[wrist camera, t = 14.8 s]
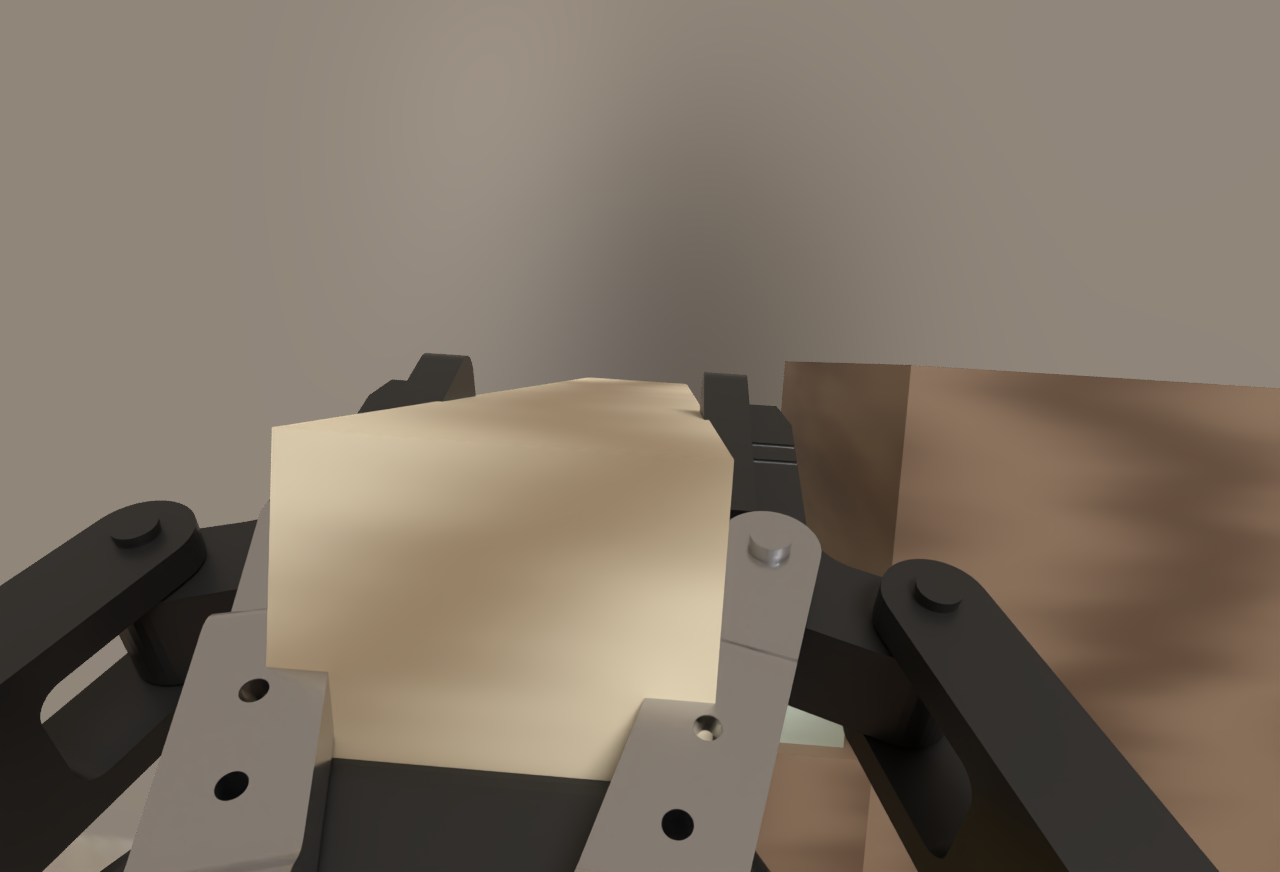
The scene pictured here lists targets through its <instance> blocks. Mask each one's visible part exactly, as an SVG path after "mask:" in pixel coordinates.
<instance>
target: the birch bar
mask: <svg viewBox="0 0 1280 872" xmlns="http://www.w3.org/2000/svg"><path fill="white" fill-rule="evenodd" d="M733 469H734V459H733V457H732V456H731V454H730V453H729V451H728V449H727V448H726V446H725V445H724V443H723V441H722V440H721V438H720V437H719V435H718V433H717V432H716V430H715V429H714V427H713V426H712V424H711V422H710V421H709V420H704V419H703V417H702V415H701V414H700V405H699V403H698V402H697V400H696V398H695V397H694V395H693V394H692V392H691V390H690V389H689V387H688V386H687V384H676V383H661V382H646V381H630V380H617V379H602V378H583V379H576V380H570V381H564V382H558V383H551V384H544V385H538V386H532V387H526V388H519V389H513V390H507V391H500V392H494V393H487V394H481V395H476V396H474V397H468V398H462V399H456V400H450V401H444V402H439V401H436V402H430V403H424V404H417V405H411V406H405V407H398V408H392V409H386V410H379V411H373V412H366V413H360V414H354V415H348V416H341V417H335V418H329V419H322V420H316V421H309V422H303V423H297V424H291V425H284V426H278V427H272V451H271V490H270V492H271V493H270V530H269V570H268V610H267V650H266V667H275V668H287V669H299V670H312V671H324V672H328V675H329V685H330V695H331V705H332V715H333V725H334V743H333V750H332V758H344V759H356V760H368V761H379V762H391V763H403V764H414V765H426V766H438V767H450V768H462V769H473V770H485V771H497V772H509V773H520V774H532V775H544V776H556V777H567V778H579V779H591V780H603V781H611V780H612V778H613V775H614V773H615V770H616V768H617V765H618V763H619V760H620V758H621V755H622V753H623V750H624V748H625V745H626V743H627V740H628V738H629V736H630V733H631V731H632V728H633V726H634V723H635V721H636V718H637V716H638V713H639V711H640V708H641V706H642V703H643V701H644V698H655V699H667V700H679V701H691V702H704V703H715V701H716V688H717V675H718V662H719V649H720V636H721V623H722V610H723V598H724V585H725V572H726V559H727V546H728V533H729V520H730V507H731V495H732V482H733ZM265 695H266V694H265ZM697 736H698V737H699V738H701V739H703V740H706V741H712V739H713V734H712V733H711V732H709V731H707V730H704V731H701V732H700V733H699V734H698V735H697Z"/></svg>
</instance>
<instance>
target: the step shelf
mask: <svg viewBox="0 0 1280 872" xmlns="http://www.w3.org/2000/svg"><path fill="white" fill-rule="evenodd" d="M781 413H782V414H783V415H784V416H785V418H786V419H787V420H788V421H789V422H790V424H791V425H792V432H793V438H794V449H795V452H796V459H797V466H798V472H799V479H800V485H801V492H802V499H803V506H804V512H805V519H806V525H807V527H808V528H809V529H810V530H811V531H812V532H813V533H814V534H815V535H816V537H817V538H818V540H819V543H820V545H821V550H822V551H824V552H825V553H826V554H827V555H829V556H830V557H832V558H833V559H835V560H836V561H838V562H840V563H843V564H845V565H847V566H850V567H852V568H855V569H858V570H861V571H865V572H868V573H871V574H874V575H877V576H880V577H883V575H884V573H885V572H886V571H887V570H888V569H889V568H890V567H891V566H893V565H894V564H896V563H898V562H901V561H905V560H909V559H929V560H936V561H940V562H943V563H946V564H949V565H952V566H954V567H956V568H958V569H960V570H962V571H964V572H965V573H967V574H969V575H970V576H971V577H973V578H974V579H975V580H976V581H978V582H979V583H980V585H981V586H982V587H983V588H984V589H985V590H986V591H987V592H988V594H989V595H990V596H991V597H992V598H993V600H994V601H995V602H996V603H997V604H998V606H999V607H1000V608H1001V609H1002V610H1003V612H1004V613H1005V614H1006V615H1007V616H1008V618H1009V619H1010V620H1011V621H1012V623H1013V624H1014V625H1015V626H1016V627H1017V629H1018V630H1019V631H1020V632H1021V633H1022V635H1023V636H1024V637H1025V638H1026V639H1027V641H1028V642H1029V643H1030V644H1031V645H1032V647H1033V648H1034V649H1035V650H1036V651H1037V653H1038V654H1039V655H1040V656H1041V657H1042V659H1043V660H1044V661H1045V662H1046V663H1047V665H1048V666H1049V667H1050V668H1051V669H1052V671H1053V672H1054V673H1055V674H1056V675H1057V677H1058V678H1059V679H1060V680H1061V681H1062V683H1063V684H1064V685H1065V686H1066V688H1067V689H1068V690H1069V691H1070V692H1071V694H1072V695H1073V696H1074V697H1075V698H1076V700H1077V701H1078V702H1079V703H1080V704H1081V706H1082V707H1083V708H1084V709H1085V710H1086V712H1087V713H1088V714H1089V715H1090V716H1091V718H1092V719H1093V720H1094V721H1095V722H1096V724H1097V725H1098V726H1099V727H1100V728H1101V730H1102V731H1103V732H1104V733H1105V734H1106V736H1107V737H1108V738H1109V739H1110V740H1111V742H1112V743H1113V744H1114V745H1115V746H1116V748H1117V749H1118V750H1119V751H1120V752H1121V754H1122V755H1123V756H1124V757H1125V759H1126V760H1127V761H1128V762H1129V763H1130V765H1131V766H1132V767H1133V768H1134V769H1135V771H1136V772H1137V773H1138V774H1139V775H1140V777H1141V778H1142V779H1143V780H1144V781H1145V783H1146V784H1147V785H1148V786H1149V787H1150V789H1151V790H1152V791H1153V792H1154V793H1155V795H1156V796H1157V797H1158V798H1159V799H1160V801H1161V802H1162V803H1163V804H1164V805H1165V807H1166V808H1167V809H1168V810H1169V811H1170V813H1171V814H1172V815H1173V816H1174V817H1175V819H1176V820H1177V821H1178V822H1179V824H1180V825H1181V826H1182V827H1183V828H1184V830H1185V831H1186V832H1187V833H1188V834H1189V836H1190V837H1191V838H1192V839H1193V840H1194V842H1195V843H1196V844H1197V845H1198V846H1199V848H1200V849H1201V850H1202V851H1203V852H1204V854H1205V855H1206V856H1207V857H1208V858H1209V860H1210V861H1211V862H1212V863H1213V864H1214V866H1215V867H1216V868H1217V869H1218V870H1219V872H1280V388H1265V387H1248V386H1234V385H1218V384H1202V383H1185V382H1184V383H1183V382H1170V381H1169V382H1168V381H1154V380H1138V379H1122V378H1106V377H1090V376H1074V375H1059V374H1043V373H1027V372H1010V371H995V370H978V369H964V368H947V367H932V366H931V367H930V366H916V365H886V364H854V363H821V362H788V361H785V371H784V383H783V396H782V408H781ZM755 851H756V852H757V853H758V855H759V856H760V857H761V859H762V860H763V862H764V863H765V864H766V866H767V867H768V868H769V870H770V871H771V872H918V871H917V869H916V867H915V866H914V864H913V862H912V860H911V858H910V856H909V854H908V853H907V851H906V849H905V847H904V845H903V843H902V841H901V839H900V838H899V836H898V834H897V832H896V830H895V828H894V826H893V824H892V823H891V821H890V819H889V817H888V815H887V813H886V811H885V810H884V808H883V806H882V804H881V802H880V800H879V798H878V796H877V795H876V793H875V791H874V789H873V787H872V785H871V783H870V781H869V780H868V778H867V776H866V774H865V772H864V770H863V768H862V766H861V765H860V763H859V761H858V759H857V757H856V755H855V753H854V752H853V750H852V748H851V746H850V744H849V742H848V740H847V738H846V736H845V734H844V731H843V727H842V726H841V725H839V724H836V723H833V722H831V721H828V720H825V719H823V718H820V717H817V716H815V715H812V714H810V713H807V712H804V711H802V710H799V709H796V708H794V707H791V706H788V707H787V711H786V716H785V720H784V724H783V729H782V733H781V738H780V742H779V747H778V751H777V756H776V760H775V765H774V769H773V773H772V778H771V782H770V787H769V791H768V796H767V800H766V805H765V809H764V813H763V818H762V822H761V827H760V831H759V836H758V840H757V845H756V849H755Z"/></svg>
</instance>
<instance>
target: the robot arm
mask: <svg viewBox="0 0 1280 872" xmlns="http://www.w3.org/2000/svg"><path fill="white" fill-rule="evenodd" d="M474 396H476V395H475V386H474V374H473V366H472V362H471V359H470V357H468V356H461V355H446V354H431V353H425V354H423V355H422V357H421V358H420V360H419V362H418V363H417V365H416V367H415V369H414V370H413V372H412V374H411V375H410V377H409V379H408V380H407V381H403V380H391V381H389V382H388V383H386V384H385V385H384V386H382V387H380V388H379V389H378V390H376V391H375V392H373V393H372V394H370V395H369V396H368V398H367V399H366V401H365V402H364V404H363V406H362V407H361V409H360V411H359V412H358V413H357V414H360V413H366V412H373V411H379V410H386V409H392V408H398V407H405V406H411V405H417V404H424V403H430V402H436V401H439V402H444V401H450V400H456V399H462V398H468V397H474ZM700 414H701V415H702V417H703V419H704V420H709V421H710V422H711V424H712V426H713V427H714V429H715V430H716V432H717V433H718V435H719V437H720V438H721V440H722V441H723V443H724V445H725V446H726V448H727V449H728V451H729V453H730V454H731V456H732V457H733V459H734V469H733V482H732V495H731V507H730V520H729V533H728V546H727V559H726V572H725V585H724V598H723V610H722V623H721V636H720V649H719V662H718V675H717V688H716V701H715V703H704V702H691V701H679V700H667V699H655V698H644V701H643V703H642V706H641V708H640V711H639V713H638V716H637V718H636V721H635V723H634V726H633V728H632V731H631V733H630V736H629V738H628V740H627V743H626V745H625V748H624V750H623V753H622V755H621V758H620V760H619V763H618V765H617V768H616V770H615V773H614V775H613V778H612V780H611V781H603V780H591V779H579V778H567V777H556V776H544V775H532V774H520V773H509V772H497V771H485V770H473V769H462V768H450V767H438V766H426V765H414V764H403V763H391V762H379V761H368V760H356V759H344V758H332V750H333V743H334V725H333V715H332V705H331V695H330V685H329V675H328V672H324V671H312V670H299V669H287V668H275V667H266V650H267V610H268V570H269V530H270V500H269V501H268V502H267V503H266V504H265V505H264V507H263V508H262V510H261V512H260V514H259V517H258V519H257V520H253V521H248V522H242V523H235V524H228V525H222V526H214V527H207V528H199V526H198V523H197V520H196V518H195V515H194V513H193V512H192V510H190V509H189V508H188V507H187V506H185V505H183V504H180V503H176V502H172V501H149V502H143V503H138V504H134V505H130V506H127V507H124V508H122V509H119V510H117V511H115V512H113V513H111V514H108V515H107V516H105V517H103V518H102V519H100V520H98V521H97V522H95V523H94V524H92V525H91V526H89V527H88V528H87V529H85V530H84V531H82V532H81V533H79V534H77V535H76V536H74V537H73V538H71V539H70V540H69V541H67V542H65V543H64V544H62V545H61V546H59V547H58V548H57V549H55V550H53V551H52V552H50V553H49V554H48V555H46V556H44V557H43V558H41V559H40V560H38V561H37V562H35V563H34V564H32V565H31V566H29V567H28V568H27V569H25V570H23V571H22V572H21V573H19V574H18V575H16V576H14V577H13V578H12V579H10V580H8V581H7V582H5V583H4V584H2V585H1V586H0V872H42V871H43V870H44V869H45V868H46V867H47V866H48V865H49V864H50V863H51V862H53V861H54V860H55V859H56V858H57V857H58V856H59V855H60V854H61V853H62V852H63V851H64V850H65V849H66V848H67V847H68V846H69V845H70V844H71V843H72V842H73V841H74V840H75V839H76V838H77V837H78V836H79V835H80V834H81V833H82V832H83V831H84V830H85V829H86V828H87V827H88V826H89V825H90V824H91V823H92V822H93V821H94V820H95V819H97V817H99V816H100V814H101V813H103V812H104V811H105V810H106V809H107V808H108V807H109V806H110V805H111V804H112V803H113V802H114V801H115V800H116V799H117V798H118V797H119V796H120V795H121V794H122V793H123V792H124V791H125V790H126V789H127V788H128V787H129V786H130V785H131V784H132V783H133V782H134V781H135V780H136V779H137V778H138V777H140V775H142V774H143V772H145V771H146V770H147V769H148V768H149V766H151V765H152V764H153V763H154V762H155V761H156V760H157V759H158V758H159V757H160V756H161V758H160V761H159V764H158V767H157V770H156V773H155V777H154V779H153V783H152V786H151V789H150V792H149V795H148V798H147V801H146V805H145V807H144V811H143V814H142V817H141V820H140V823H139V826H138V829H137V832H136V836H135V839H134V842H133V845H132V848H131V850H129V851H128V852H127V853H125V854H124V855H122V856H121V857H120V858H118V859H117V860H116V861H114V862H113V863H111V864H110V865H109V866H107V867H106V868H104V869H103V870H102V871H100V872H771V871H770V870H769V868H768V867H767V866H766V864H765V863H764V862H763V860H762V859H761V857H760V856H759V855H758V853H757V852H756V851H755V849H756V845H757V840H758V836H759V831H760V827H761V822H762V818H763V813H764V809H765V805H766V800H767V796H768V791H769V787H770V782H771V778H772V773H773V769H774V765H775V760H776V756H777V751H778V747H779V742H780V738H781V733H782V729H783V724H784V720H785V716H786V711H787V707H788V706H791V707H794V708H796V709H799V710H802V711H804V712H807V713H810V714H812V715H815V716H817V717H820V718H823V719H825V720H828V721H831V722H833V723H836V724H839V725H841V726H842V727H843V731H844V734H845V736H846V738H847V740H848V742H849V744H850V746H851V748H852V750H853V752H854V753H855V755H856V757H857V759H858V761H859V763H860V765H861V766H862V768H863V770H864V772H865V774H866V776H867V778H868V780H869V781H870V783H871V785H872V787H873V789H874V791H875V793H876V795H877V796H878V798H879V800H880V802H881V804H882V806H883V808H884V810H885V811H886V813H887V815H888V817H889V819H890V821H891V823H892V824H893V826H894V828H895V830H896V832H897V834H898V836H899V838H900V839H901V841H902V843H903V845H904V847H905V849H906V851H907V853H908V854H909V856H910V858H911V860H912V862H913V864H914V866H915V867H916V869H917V871H918V872H1219V870H1218V869H1217V868H1216V867H1215V866H1214V864H1213V863H1212V862H1211V861H1210V860H1209V858H1208V857H1207V856H1206V855H1205V854H1204V852H1203V851H1202V850H1201V849H1200V848H1199V846H1198V845H1197V844H1196V843H1195V842H1194V840H1193V839H1192V838H1191V837H1190V836H1189V834H1188V833H1187V832H1186V831H1185V830H1184V828H1183V827H1182V826H1181V825H1180V824H1179V822H1178V821H1177V820H1176V819H1175V817H1174V816H1173V815H1172V814H1171V813H1170V811H1169V810H1168V809H1167V808H1166V807H1165V805H1164V804H1163V803H1162V802H1161V801H1160V799H1159V798H1158V797H1157V796H1156V795H1155V793H1154V792H1153V791H1152V790H1151V789H1150V787H1149V786H1148V785H1147V784H1146V783H1145V781H1144V780H1143V779H1142V778H1141V777H1140V775H1139V774H1138V773H1137V772H1136V771H1135V769H1134V768H1133V767H1132V766H1131V765H1130V763H1129V762H1128V761H1127V760H1126V759H1125V757H1124V756H1123V755H1122V754H1121V752H1120V751H1119V750H1118V749H1117V748H1116V746H1115V745H1114V744H1113V743H1112V742H1111V740H1110V739H1109V738H1108V737H1107V736H1106V734H1105V733H1104V732H1103V731H1102V730H1101V728H1100V727H1099V726H1098V725H1097V724H1096V722H1095V721H1094V720H1093V719H1092V718H1091V716H1090V715H1089V714H1088V713H1087V712H1086V710H1085V709H1084V708H1083V707H1082V706H1081V704H1080V703H1079V702H1078V701H1077V700H1076V698H1075V697H1074V696H1073V695H1072V694H1071V692H1070V691H1069V690H1068V689H1067V688H1066V686H1065V685H1064V684H1063V683H1062V681H1061V680H1060V679H1059V678H1058V677H1057V675H1056V674H1055V673H1054V672H1053V671H1052V669H1051V668H1050V667H1049V666H1048V665H1047V663H1046V662H1045V661H1044V660H1043V659H1042V657H1041V656H1040V655H1039V654H1038V653H1037V651H1036V650H1035V649H1034V648H1033V647H1032V645H1031V644H1030V643H1029V642H1028V641H1027V639H1026V638H1025V637H1024V636H1023V635H1022V633H1021V632H1020V631H1019V630H1018V629H1017V627H1016V626H1015V625H1014V624H1013V623H1012V621H1011V620H1010V619H1009V618H1008V616H1007V615H1006V614H1005V613H1004V612H1003V610H1002V609H1001V608H1000V607H999V606H998V604H997V603H996V602H995V601H994V600H993V598H992V597H991V596H990V595H989V594H988V592H987V591H986V590H985V589H984V588H983V587H982V586H981V585H980V583H979V582H978V581H976V580H975V579H974V578H973V577H971V576H970V575H969V574H967V573H965V572H964V571H962V570H960V569H958V568H956V567H954V566H952V565H949V564H946V563H943V562H940V561H936V560H929V559H909V560H905V561H901V562H898V563H896V564H894V565H893V566H891V567H890V568H889V569H888V570H887V571H886V572H885V573H884V575H883V577H880V576H877V575H874V574H871V573H868V572H865V571H861V570H858V569H855V568H852V567H850V566H847V565H845V564H843V563H840V562H838V561H836V560H835V559H833V558H832V557H830V556H829V555H827V554H826V553H825V552H824V551H822V550H821V545H820V543H819V540H818V538H817V537H816V535H815V534H814V533H813V532H812V531H811V530H810V529H809V528H808V527H807V525H806V519H805V512H804V506H803V499H802V492H801V485H800V479H799V472H798V466H797V459H796V452H795V449H794V438H793V432H792V425H791V424H790V422H789V421H788V420H787V419H786V418H785V416H784V415H783V414H782V413H781V412H780V410H779V409H778V408H777V407H776V406H762V405H749V394H748V381H747V375H739V374H723V373H708V372H704V374H703V381H702V391H701V402H700ZM118 635H119V636H120V638H121V640H122V642H123V644H124V646H125V648H126V650H127V652H128V653H127V654H126V655H125V656H123V657H122V658H121V659H120V660H119V661H118V662H116V663H115V664H114V665H113V666H111V667H110V668H109V669H108V670H107V671H105V672H104V673H103V674H102V675H101V676H99V677H98V678H97V679H96V680H95V681H93V682H92V683H91V684H90V685H89V686H87V687H86V688H85V689H84V690H83V691H81V692H80V693H79V694H78V695H77V696H75V697H74V698H73V699H72V700H70V701H69V702H68V703H67V704H66V705H65V706H63V707H62V708H61V709H60V710H59V711H57V712H56V713H55V714H54V715H53V716H51V717H50V718H49V719H48V720H46V721H45V722H44V723H43V724H41V720H40V712H41V708H42V705H43V703H44V701H45V699H46V697H47V695H48V694H49V693H50V692H51V690H52V689H53V688H54V687H55V686H56V685H57V684H58V683H59V682H60V681H62V680H63V679H64V678H65V677H67V676H68V675H69V674H70V673H72V672H73V671H74V670H75V669H76V668H78V667H79V666H80V665H82V664H83V663H84V662H85V661H86V660H88V659H89V658H90V657H92V656H93V655H94V654H95V653H97V652H98V651H99V650H100V649H101V648H103V647H104V646H105V645H107V644H108V643H109V642H110V641H111V640H113V639H114V638H115V637H116V636H118ZM265 694H266V695H265ZM704 730H707V731H709V732H711V733H712V734H713V739H712V741H706V740H703V739H701V738H699V737H698V736H697V735H698V734H699V733H700V732H701V731H704Z"/></svg>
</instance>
